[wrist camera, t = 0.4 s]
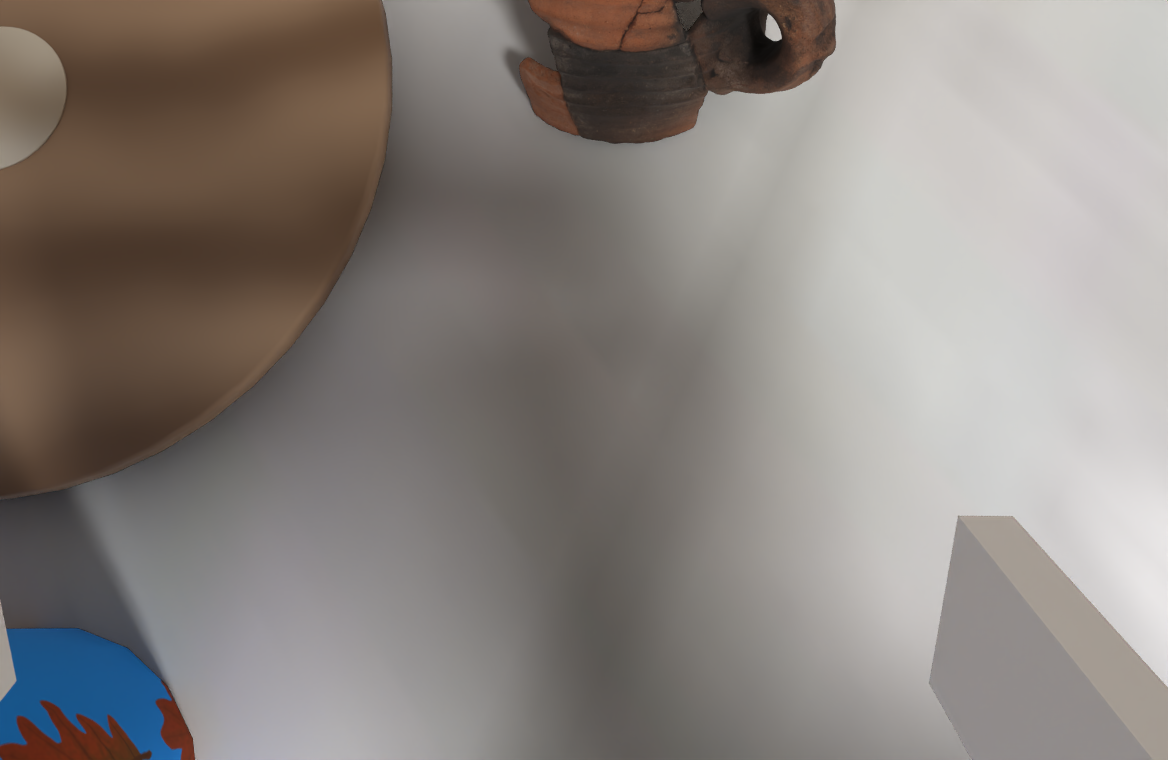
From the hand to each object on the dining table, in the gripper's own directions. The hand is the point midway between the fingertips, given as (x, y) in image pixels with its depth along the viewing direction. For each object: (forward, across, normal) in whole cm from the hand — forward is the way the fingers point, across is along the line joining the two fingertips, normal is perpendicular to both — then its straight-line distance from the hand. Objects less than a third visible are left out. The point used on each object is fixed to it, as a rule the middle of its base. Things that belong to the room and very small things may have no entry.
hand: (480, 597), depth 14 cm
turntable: (+24, +17, -4) cm, 29 cm away
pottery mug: (+24, -5, -7) cm, 26 cm away
